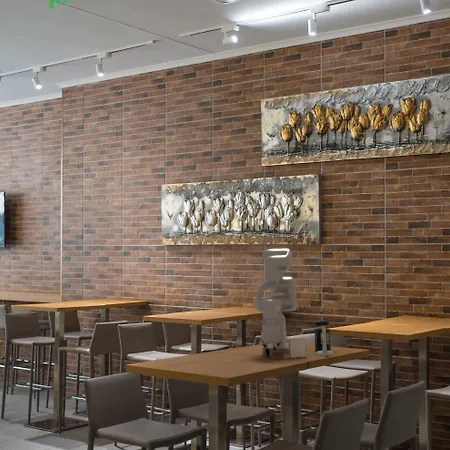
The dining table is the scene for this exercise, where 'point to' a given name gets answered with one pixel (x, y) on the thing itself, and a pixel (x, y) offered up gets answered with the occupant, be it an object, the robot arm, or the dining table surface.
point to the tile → (297, 348)
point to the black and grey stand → (324, 346)
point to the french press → (318, 332)
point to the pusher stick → (274, 354)
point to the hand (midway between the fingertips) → (271, 355)
